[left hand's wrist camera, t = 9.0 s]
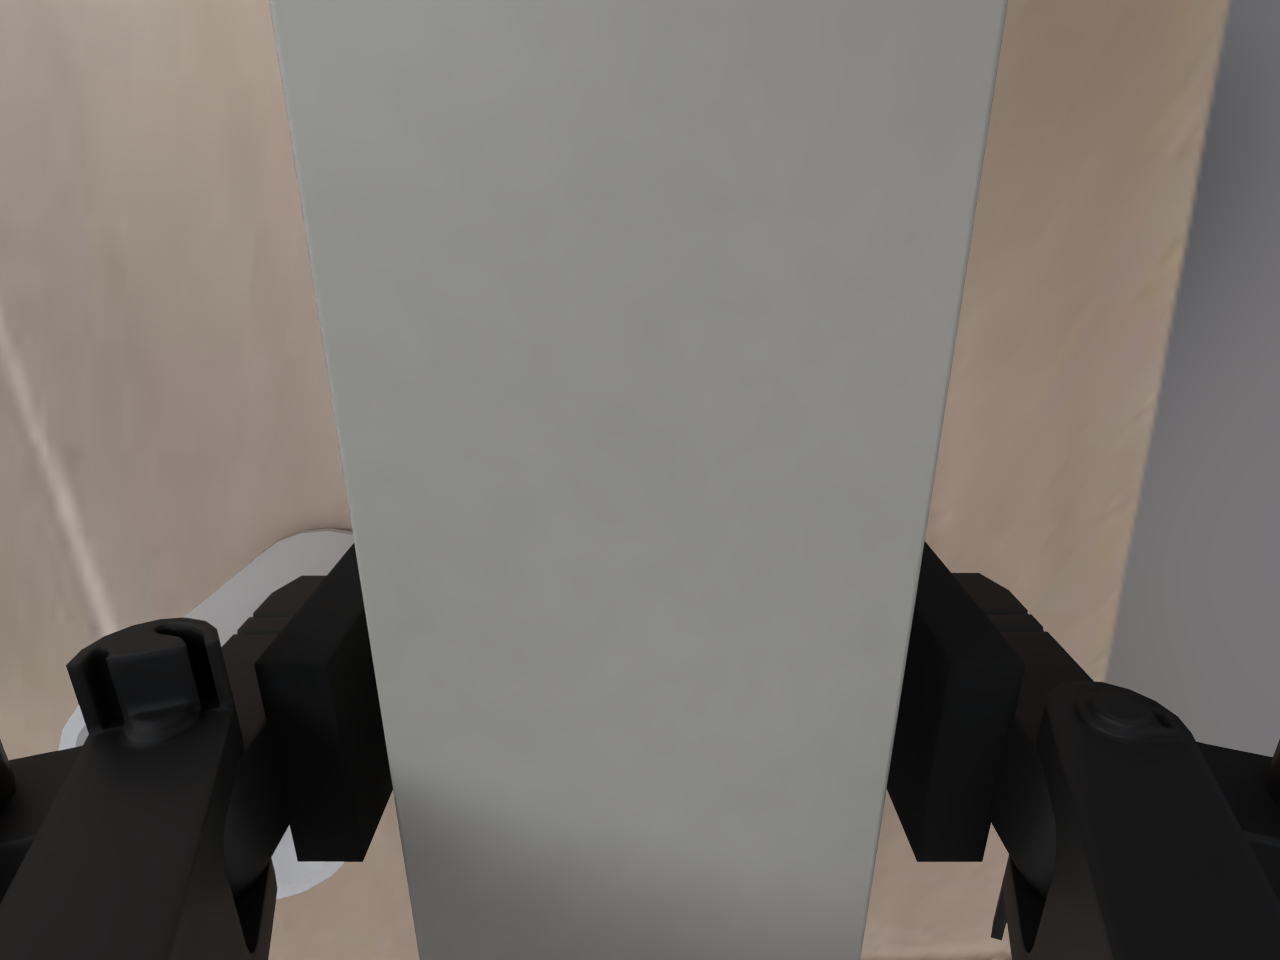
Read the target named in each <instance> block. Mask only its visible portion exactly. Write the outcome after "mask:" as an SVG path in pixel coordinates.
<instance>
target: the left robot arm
mask: <svg viewBox="0 0 1280 960" xmlns="http://www.w3.org/2000/svg"><path fill="white" fill-rule="evenodd" d="M66 667H67V670H68V673H69V676H70V679H71V682H72V685H73V688H74V691H75V694H76V697H77V700H78V703H79V706H80V709H81V712H82V715H83V718H84V721H85V724H86V727H87V730H88V733H89V735H88V737H87V739H86V740H85V742H84V744H83V745H82V746H78V747H74V748H69V749H64V750H59V751H54V752H49V753H44V754H39V755H34V756H29V757H24V758H19V759H14V760H9V761H8V758H7V756H6V753H5V751H4V748H3V745H2V743H1V740H0V960H268V956H269V949H270V941H271V934H272V926H273V918H274V911H275V903H276V896H277V882H276V875H275V870H274V866H273V862H272V855H273V853H274V852H275V850H276V848H277V846H278V844H279V843H280V841H281V839H282V837H283V835H284V834H285V832H286V830H287V828H288V826H289V825H290V829H291V833H292V838H293V842H294V847H295V851H296V856H297V860H298V862H363V860H364V857H365V855H366V853H367V850H368V848H369V845H370V843H371V841H372V838H373V836H374V833H375V831H376V829H377V826H378V824H379V821H380V819H381V817H382V814H383V812H384V809H385V807H386V805H387V802H388V800H389V797H390V795H391V793H392V790H393V786H392V779H391V773H390V767H389V760H388V754H387V748H386V741H385V735H384V729H383V722H382V716H381V709H380V703H379V697H378V690H377V684H376V678H375V671H374V665H373V659H372V652H371V646H370V639H369V633H368V627H367V620H366V614H365V608H364V601H363V595H362V589H361V582H360V576H359V569H358V563H357V557H356V550H355V544H354V543H353V544H352V546H351V547H350V548H349V549H348V550H347V552H346V553H345V554H344V555H343V557H342V558H341V559H340V560H339V561H338V563H337V564H336V565H335V566H334V567H333V569H332V570H331V571H330V572H329V574H328V575H327V576H300V577H298V578H297V579H295V580H293V581H291V582H290V583H288V584H286V585H284V586H283V587H281V588H279V589H278V590H276V591H274V592H272V593H271V594H270V595H269V596H268V598H267V599H266V600H265V601H264V602H263V603H262V604H261V605H260V606H259V607H258V608H257V609H256V610H255V612H254V613H253V617H249V618H248V619H247V620H246V621H245V622H244V623H243V624H242V626H241V627H240V628H239V629H238V630H237V634H233V635H232V636H231V637H230V638H229V640H228V641H227V642H226V643H225V644H224V645H223V646H222V647H221V644H220V639H219V635H218V631H217V628H215V627H214V626H212V625H211V624H209V623H208V622H207V621H204V620H198V619H192V618H172V619H160V620H155V621H151V622H146V623H142V624H138V625H133V626H130V627H128V628H125V629H123V630H120V631H117V632H115V633H112V634H110V635H107V636H104V637H103V638H101V639H99V640H98V641H96V642H94V643H93V644H91V645H89V646H88V647H86V648H84V649H82V650H81V651H80V652H79V653H78V654H77V655H76V656H75V657H74V658H73V659H72V660H71V661H70V662H69V663H68V664H67V665H66ZM887 790H888V793H889V795H890V797H891V800H892V802H893V805H894V807H895V809H896V812H897V814H898V817H899V819H900V821H901V824H902V826H903V829H904V831H905V833H906V836H907V838H908V841H909V843H910V845H911V848H912V850H913V853H914V855H915V857H916V860H917V862H982V860H983V856H984V851H985V847H986V842H987V838H988V833H989V829H990V824H991V823H992V824H993V826H994V828H995V830H996V831H997V833H998V835H999V837H1000V839H1001V840H1002V842H1003V844H1004V846H1005V848H1006V849H1007V851H1008V853H1009V857H1008V862H1007V866H1006V870H1005V874H1004V878H1003V882H1002V887H1001V891H1000V895H999V899H998V903H997V908H996V912H995V916H994V920H993V927H992V934H991V937H992V938H995V939H999V940H1002V937H1003V933H1004V929H1005V925H1006V923H1007V924H1008V932H1009V939H1010V947H1011V954H1012V960H1280V740H1279V743H1278V745H1277V748H1276V750H1275V753H1274V756H1273V757H1268V756H1263V755H1258V754H1253V753H1248V752H1243V751H1238V750H1233V749H1228V748H1223V747H1218V746H1213V745H1208V744H1204V743H1199V742H1196V741H1195V739H1194V737H1193V735H1192V733H1191V732H1190V731H1189V730H1188V728H1187V727H1186V726H1185V725H1184V724H1183V722H1182V721H1181V720H1180V719H1179V718H1178V716H1176V715H1175V714H1173V713H1172V712H1170V711H1169V710H1168V709H1166V708H1165V707H1163V706H1162V705H1160V704H1159V703H1157V702H1156V701H1154V700H1152V699H1149V698H1147V697H1145V696H1143V695H1141V694H1138V693H1136V692H1134V691H1132V690H1129V689H1126V688H1122V687H1118V686H1114V685H1110V684H1107V683H1103V682H1094V681H1093V680H1092V679H1091V678H1090V677H1089V676H1088V675H1087V674H1086V673H1085V671H1084V670H1083V669H1082V668H1081V667H1080V666H1079V665H1078V664H1077V663H1076V662H1075V661H1074V660H1073V659H1072V658H1071V656H1070V655H1069V654H1068V653H1067V652H1066V651H1065V650H1064V649H1063V648H1062V647H1061V646H1060V645H1059V644H1058V643H1057V641H1056V640H1055V639H1054V638H1053V637H1052V636H1051V635H1050V634H1049V633H1048V632H1044V631H1043V627H1042V625H1041V624H1040V623H1039V622H1038V621H1037V620H1036V619H1035V618H1034V617H1033V616H1032V615H1031V614H1028V613H1027V609H1026V608H1025V607H1024V606H1023V605H1022V604H1021V603H1020V602H1019V601H1018V600H1017V599H1016V598H1015V597H1014V595H1013V594H1012V593H1011V592H1010V591H1009V590H1007V589H1006V588H1004V587H1002V586H1000V585H999V584H997V583H995V582H993V581H992V580H990V579H988V578H986V577H985V576H983V575H981V574H979V573H951V572H950V571H949V570H948V569H947V567H946V566H945V565H944V564H943V563H942V561H941V560H940V559H939V558H938V557H937V555H936V554H935V553H934V552H933V551H932V549H931V548H930V547H929V546H928V544H927V543H926V542H925V541H924V548H923V554H922V561H921V567H920V574H919V580H918V587H917V593H916V600H915V606H914V613H913V619H912V626H911V632H910V639H909V645H908V652H907V658H906V665H905V671H904V678H903V684H902V691H901V697H900V704H899V710H898V717H897V723H896V730H895V736H894V743H893V749H892V756H891V762H890V769H889V775H888V781H887Z"/></svg>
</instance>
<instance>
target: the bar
mask: <svg viewBox="0 0 1280 960" xmlns="http://www.w3.org/2000/svg"><path fill="white" fill-rule="evenodd" d="M1007 2H1008V0H269V3H270V10H271V16H272V22H273V29H274V35H275V42H276V48H277V54H278V61H279V67H280V73H281V80H282V86H283V92H284V99H285V105H286V111H287V118H288V124H289V131H290V137H291V143H292V150H293V156H294V162H295V169H296V175H297V181H298V188H299V194H300V201H301V207H302V213H303V220H304V226H305V232H306V239H307V245H308V251H309V258H310V264H311V271H312V277H313V283H314V290H315V296H316V302H317V309H318V315H319V321H320V328H321V334H322V340H323V347H324V353H325V360H326V366H327V372H328V379H329V385H330V391H331V398H332V404H333V410H334V417H335V423H336V430H337V436H338V442H339V449H340V455H341V461H342V468H343V474H344V480H345V487H346V493H347V500H348V506H349V512H350V519H351V525H352V531H353V538H354V544H355V550H356V557H357V563H358V569H359V576H360V582H361V589H362V595H363V601H364V608H365V614H366V620H367V627H368V633H369V639H370V646H371V652H372V659H373V665H374V671H375V678H376V684H377V690H378V697H379V703H380V709H381V716H382V722H383V729H384V735H385V741H386V748H387V754H388V760H389V767H390V773H391V779H392V786H393V792H394V798H395V805H396V811H397V818H398V824H399V830H400V837H401V843H402V849H403V856H404V862H405V868H406V875H407V881H408V888H409V894H410V900H411V907H412V913H413V919H414V926H415V932H416V938H417V945H418V951H419V958H420V960H860V957H861V950H862V944H863V937H864V931H865V924H866V918H867V911H868V905H869V898H870V892H871V885H872V879H873V872H874V866H875V859H876V853H877V846H878V840H879V833H880V827H881V820H882V814H883V807H884V801H885V794H886V788H887V781H888V775H889V769H890V762H891V756H892V749H893V743H894V736H895V730H896V723H897V717H898V710H899V704H900V697H901V691H902V684H903V678H904V671H905V665H906V658H907V652H908V645H909V639H910V632H911V626H912V619H913V613H914V606H915V600H916V593H917V587H918V580H919V574H920V567H921V561H922V554H923V548H924V541H925V535H926V528H927V522H928V515H929V509H930V502H931V496H932V489H933V483H934V476H935V470H936V463H937V457H938V450H939V444H940V437H941V431H942V424H943V418H944V411H945V405H946V398H947V392H948V385H949V379H950V373H951V366H952V360H953V353H954V347H955V340H956V334H957V327H958V321H959V314H960V308H961V301H962V295H963V288H964V282H965V275H966V269H967V262H968V256H969V249H970V243H971V236H972V230H973V223H974V217H975V210H976V204H977V197H978V191H979V184H980V178H981V171H982V165H983V158H984V152H985V145H986V139H987V132H988V126H989V119H990V113H991V106H992V100H993V93H994V87H995V80H996V74H997V67H998V61H999V54H1000V48H1001V41H1002V35H1003V28H1004V22H1005V15H1006V9H1007Z"/></svg>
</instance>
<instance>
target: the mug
mask: <svg viewBox="0 0 1280 960" xmlns="http://www.w3.org/2000/svg"><path fill="white" fill-rule="evenodd" d="M353 543H354V538H353V531H346V530H340V529H333V528H325V529H313V530H304V531H301V532H298V533H295V534H293V535H290V536H287V537H284V538H282V539H280V540H279V541H278V542H276V543H275V544H273V545H272V546H271V547H269V548H268V549H267V550H265V551H264V552H263V553H262V554H260V555H259V556H258V557H257V558H256V559H254V560H253V561H252V562H251V563H249V564H248V565H247V566H246V567H245V568H243V569H242V570H241V571H240V572H238V573H237V574H236V575H235V576H234V577H232V578H231V579H230V580H229V581H227V582H226V583H225V584H224V585H223V586H221V587H220V588H219V589H218V590H216V591H215V592H214V593H213V594H212V595H210V596H209V597H208V598H207V599H205V600H204V601H203V602H202V603H201V604H199V605H198V606H197V607H196V608H194V609H193V610H192V611H191V612H190V613H188V614H187V615H186V616H185V617H183V618H192V619H198V620H204V621H207V622H208V623H209V624H211V625H212V626H214V627H215V628H217V631H218V635H219V639H220V644H221V647H222V646H223V645H224V644H225V643H226V642H227V641H228V640H229V638H230V637H231V636H232V635H233V634H237V630H238V629H239V628H240V627H241V626H242V624H243V623H244V622H245V621H246V620H247V619H248V618H249V617H253V613H254V612H255V610H256V609H257V608H258V607H259V606H260V605H261V604H262V603H263V602H264V601H265V600H266V599H267V598H268V596H269V595H270V594H271V593H272V592H274V591H276V590H278V589H279V588H281V587H283V586H284V585H286V584H288V583H290V582H291V581H293V580H295V579H297V578H298V577H300V576H327V575H328V574H329V572H330V571H331V570H332V569H333V567H334V566H335V565H336V564H337V563H338V561H339V560H340V559H341V558H342V557H343V555H344V554H345V553H346V552H347V550H348V549H349V548H350V547H351V546H352V544H353ZM88 735H89V733H88V730H87V727H86V724H85V721H84V718H83V715H82V712H81V709H80V706H78V707H77V708H76V710H75V711H74V713H73V714H72V716H71V717H70V719H69V720H68V722H67V723H66V725H65V726H64V728H63V731H62V735H61V739H60V744H59V748H58V751H59V750H64V749H69V748H74V747H78V746H82V745H83V744H84V742H85V740H86V739H87V737H88ZM272 862H273V866H274V870H275V875H276V882H277V896H276V900H277V899H281V898H284V897H288V896H291V895H295V894H298V893H302V892H305V891H307V890H308V889H310V888H312V887H313V886H315V885H317V884H318V883H320V882H322V881H324V880H325V879H327V878H329V877H330V876H332V875H333V874H334V873H335V872H336V871H337V869H338V868H339V867H340V866H341V865H342V864H343V863H344V862H298V860H297V856H296V851H295V847H294V842H293V838H292V833H291V829H290V825H289V826H288V828H287V830H286V832H285V834H284V835H283V837H282V839H281V841H280V843H279V844H278V846H277V848H276V850H275V852H274V853H273V855H272Z"/></svg>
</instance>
